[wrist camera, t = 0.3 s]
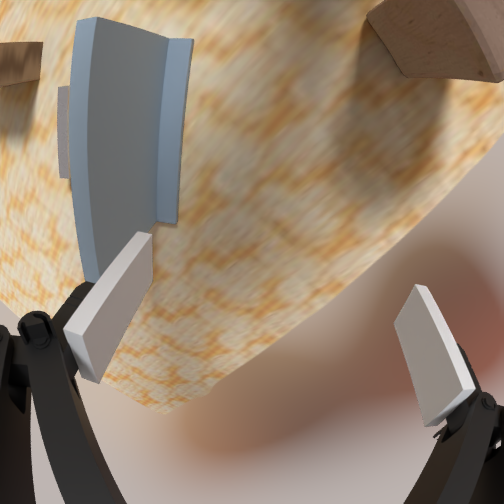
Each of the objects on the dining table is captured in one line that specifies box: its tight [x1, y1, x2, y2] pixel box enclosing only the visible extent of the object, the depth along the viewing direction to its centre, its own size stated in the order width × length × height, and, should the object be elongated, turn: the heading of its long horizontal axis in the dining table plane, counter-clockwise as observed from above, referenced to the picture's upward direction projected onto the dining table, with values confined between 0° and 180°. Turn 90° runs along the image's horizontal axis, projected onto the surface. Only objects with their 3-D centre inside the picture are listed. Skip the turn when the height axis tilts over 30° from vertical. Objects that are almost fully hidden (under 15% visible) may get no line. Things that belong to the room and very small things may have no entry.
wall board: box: [69, 17, 194, 283], centre depth 30 cm, size 26×5×18 cm, turn 172°
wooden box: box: [0, 42, 43, 88], centre depth 27 cm, size 6×11×10 cm, turn 82°
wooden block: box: [366, 0, 504, 83], centre depth 19 cm, size 10×10×20 cm
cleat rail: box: [57, 86, 71, 179], centre depth 36 cm, size 14×2×3 cm, turn 172°
